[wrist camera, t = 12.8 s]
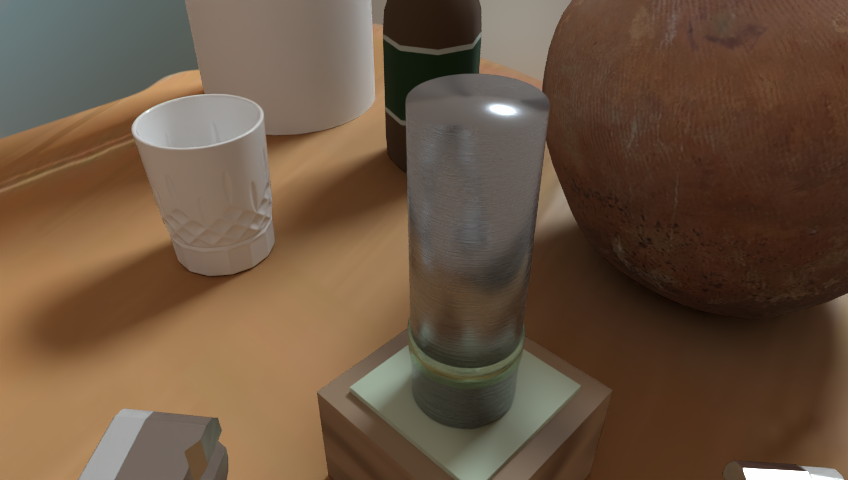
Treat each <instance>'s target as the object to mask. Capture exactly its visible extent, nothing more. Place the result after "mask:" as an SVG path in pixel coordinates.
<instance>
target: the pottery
mask: <svg viewBox="0 0 848 480" xmlns="http://www.w3.org/2000/svg"><path fill="white" fill-rule="evenodd" d="M542 92H543V93H544V94H545V95H546V96H547V98H548V100H549V103H550V109H549V117H548V126H547V134H546V142H547V146H548V149H549V153H550V156H551V160H552V163H553V166H554V169H555V171H556V174H557V176H558V179H559V181H560V184H561V186H562V189H563V192H564V194H565V197H566V199H567V202H568V204H569V207H570V209H571V211H572V214H573V216H574V218H575V220H576V222H577V224H578V226H579V228H580V229H581V231H582V232H583V234H584V235H585V237H586V238H587V240H588V241H589V242H590V243H591V244H592V246H593V247H594V248H595V249H596V250H597V251H598V252H599V253H600V254H601V255H602V256H603V257H604V258H605V259H606V260H607V261H608V262H610V263H611V264H612V265H613V266H615V267H616V268H617V269H619V270H620V271H621V272H623V273H624V274H625V275H627V276H629V277H630V278H632V279H634V280H635V281H637V282H639V283H640V284H642V285H644V286H645V287H647V288H648V289H650V290H652V291H653V292H656V293H658V294H660V295H662V296H664V297H666V298H668V299H671V300H673V301H675V302H677V303H680V304H682V305H685V306H687V307H691V308H694V309H698V310H701V311H705V312H710V313H715V314H721V315H726V316H733V317H742V318H751V319H757V318H770V317H775V316H779V315H782V314H786V313H789V312H793V311H796V310H800V309H804V308H807V307H811V306H814V305H818V304H821V303H825V302H828V301H831V300H833V299H835V298H838V297H840V296H842V295H844V294H847V293H848V0H572V1H571V3H570V4H569V5H568V7H567V8H566V10H565V11H564V12H563V15H562V17H561V19H560V21H559V23H558V25H557V27H556V30H555V32H554V35H553V38H552V41H551V44H550V47H549V51H548V56H547V61H546V66H545V71H544V79H543V86H542Z"/></svg>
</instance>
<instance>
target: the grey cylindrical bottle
mask: <svg viewBox="0 0 848 480" xmlns="http://www.w3.org/2000/svg"><path fill="white" fill-rule="evenodd" d="M549 109H550V103H549V100H548V98H547V96H546V95H545V94H544V93H543V92H542V91H541V90H539V89H538V88H536V87H534V86H532V85H530V84H528V83H526V82H523V81H520V80H517V79H513V78H509V77H504V76H498V75H490V74H457V75H449V76H444V77H439V78H435V79H432V80H429V81H426V82H424V83H422V84H419V85H418V86H416V87H415V88H413V89H412V90H411V91H410V92H409V93H408V95H407V97H406V147H407V192H408V237H409V283H410V318H409V322H408V347H409V353H410V357H411V373H412V393H413V397H414V400H415V402H416V404H417V405H418V407H419V408H420V409H421V411H422V412H423V413H424V414H425V415H427V416H428V417H429V418H431V419H432V420H434V421H436V422H438V423H440V424H442V425H445V426H448V427H452V428H458V429H474V428H479V427H483V426H487V425H489V424H492V423H494V422H495V421H497V420H499V419H500V418H501V417H503V416H504V415H505V414H506V413H507V412H508V410H509V409H510V407H511V406H512V403H513V401H514V397H515V391H516V383H517V374H518V366H519V363H520V361H521V358H522V354H523V346H524V338H525V326H524V316H525V308H526V300H527V291H528V283H529V275H530V267H531V258H532V250H533V242H534V233H535V225H536V217H537V208H538V200H539V192H540V184H541V175H542V167H543V159H544V150H545V142H546V134H547V126H548V117H549Z"/></svg>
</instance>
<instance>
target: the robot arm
mask: <svg viewBox="0 0 848 480" xmlns="http://www.w3.org/2000/svg"><path fill="white" fill-rule="evenodd" d="M221 431H222V430H221V427H220V424H219V420H218V418H213V417H203V416H193V415H183V414H173V413H163V412H156V411H145V410H133V409H122V410H121V411H120V412H119V413H118V414H117V415H116V416H115V417H114V418H113V419H112V421H111V423H110V425H109V426H108V428H107V430H106V432H105V433H104V435H103V437H102V439H101V440H100V442H99V444H98V446H97V447H96V449H95V451H94V452H93V454H92V456H91V458H90V459H89V461H88V463H87V465H86V466H85V468H84V470H83V472H82V473H81V475H80V477H79V479H78V480H227V474H228V455H227V450H226V447H224V446H223V445H222V444H221V443H220V442H218V439H219V436H220V434H221ZM722 474H723V477H724V480H844V478H843V476H842V475H841V474H840V473H839V472H838V471H837V470H836V469H832V468H824V467H808V466H797V465H796V464H781V463H766V462H752V461H737V460H734V461H732V462H730V463H728V464H727V465H726V467H725V469H724V471H723V472H722Z"/></svg>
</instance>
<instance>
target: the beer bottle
mask: <svg viewBox="0 0 848 480" xmlns="http://www.w3.org/2000/svg"><path fill="white" fill-rule="evenodd" d="M480 47H481V6H480V2H479V0H387V3H386V6H385V9H384V24H383V50H384V83H385V116H386V140H387V151H388V155H389V157H390V158H391V159H392V160H393V161H394V162H395V163H396V164H397V165H398V166H399V167H400V168H401V169H402V170H403V171H404V172H407V147H406V97H407V95H408V93H409V92H410V91H411V90H412V89H413V88H415V87H416V86H418V85H419V84H422V83H424V82H426V81H429V80H432V79H435V78H439V77H444V76H449V75H457V74H479V64H480Z"/></svg>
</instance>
